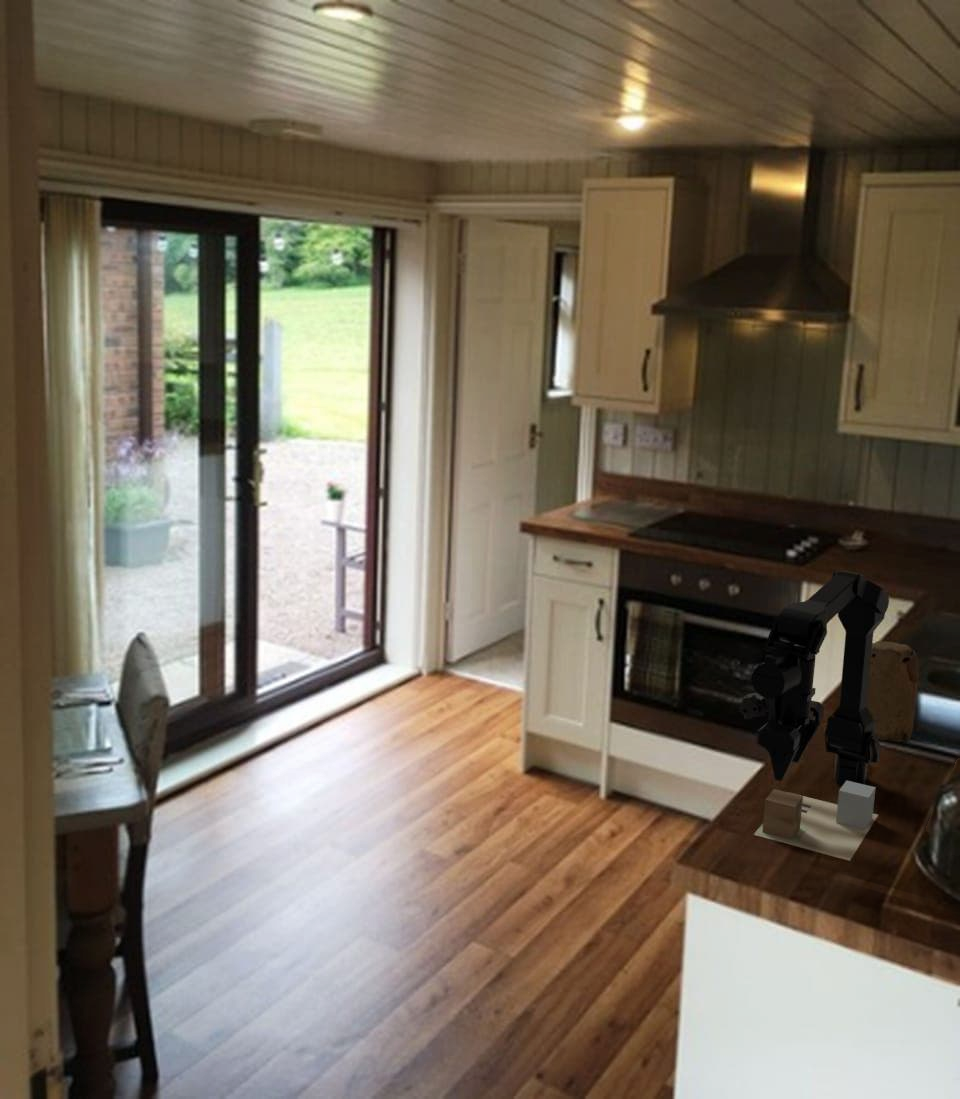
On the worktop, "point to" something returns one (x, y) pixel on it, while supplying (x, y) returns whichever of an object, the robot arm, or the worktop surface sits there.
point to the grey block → (855, 805)
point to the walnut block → (782, 814)
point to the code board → (823, 831)
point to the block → (892, 690)
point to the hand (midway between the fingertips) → (786, 770)
